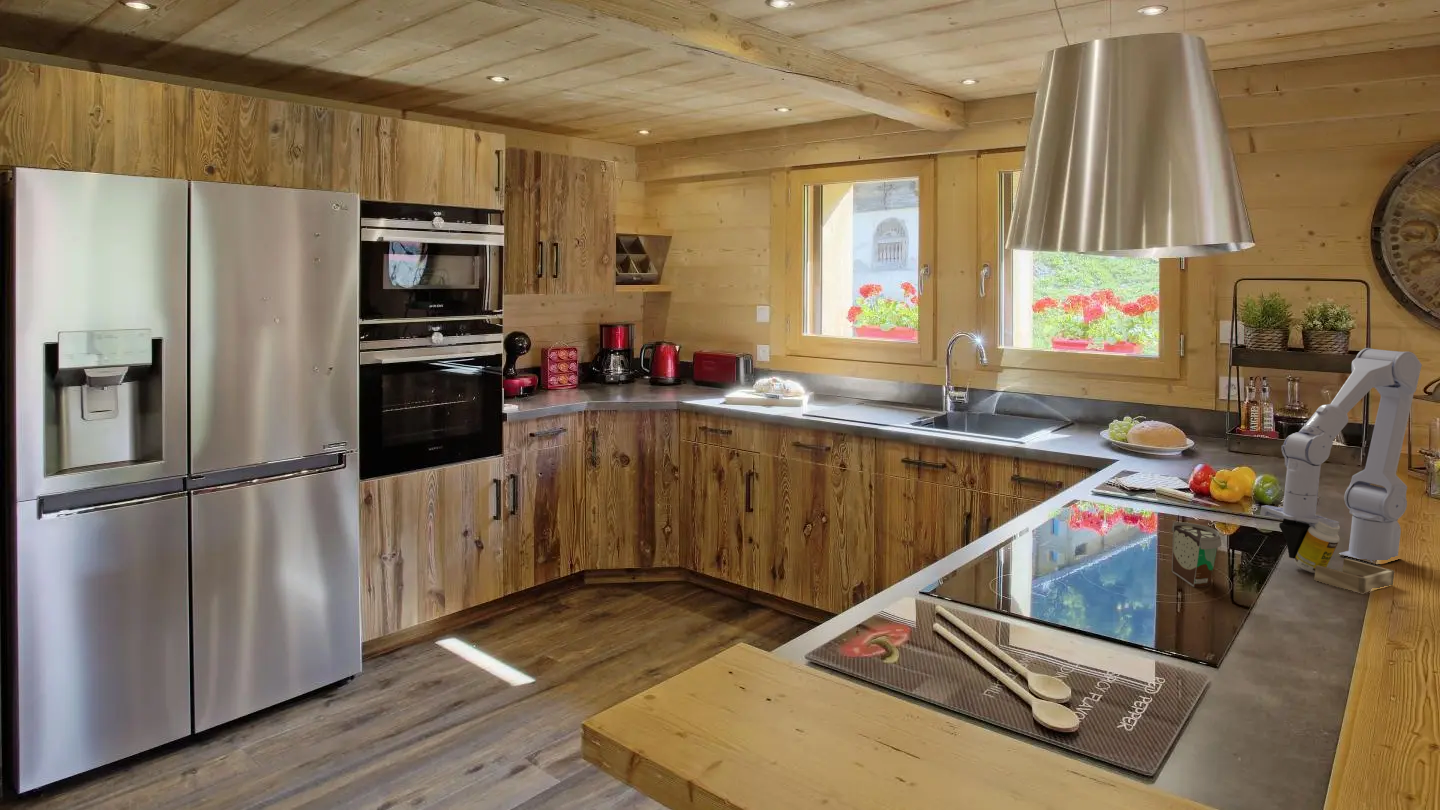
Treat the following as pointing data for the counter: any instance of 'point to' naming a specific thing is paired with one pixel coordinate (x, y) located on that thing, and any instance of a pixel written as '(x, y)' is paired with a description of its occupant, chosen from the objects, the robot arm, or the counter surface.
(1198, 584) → the food container
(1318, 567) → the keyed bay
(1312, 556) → the supplement bottle
